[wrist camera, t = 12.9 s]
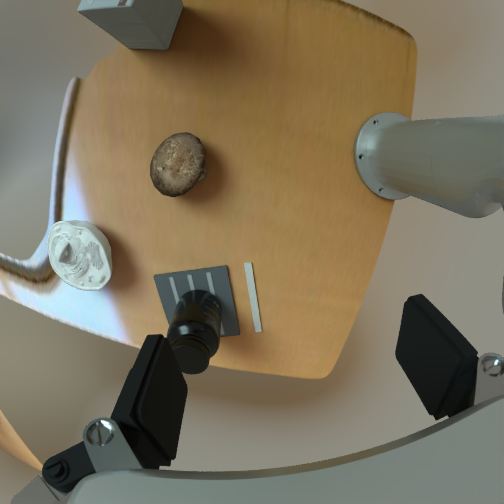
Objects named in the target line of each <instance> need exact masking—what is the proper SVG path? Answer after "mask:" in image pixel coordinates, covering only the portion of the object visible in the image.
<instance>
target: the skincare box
mask: <svg viewBox="0 0 504 504" xmlns="http://www.w3.org/2000/svg"><path fill="white" fill-rule="evenodd" d="M182 9H183V3H182V1H181V0H82V1H81V3H80V5H79V7H78V9H77V12H79V13H81V14H82V15H83V16H85V17H86V18H88V19H89V20H91V21H92V22H93V23H95V24H96V25H98V26H99V27H100V28H102V29H103V30H105V31H106V32H107V33H109V34H110V35H111V36H113V37H114V38H115V39H117V40H118V41H119V42H121V43H122V44H123V45H125V46H126V47H127V48H128V49H157V50H168V48H169V45H170V42H171V39H172V36H173V33H174V30H175V27H176V25H177V22H178V19H179V16H180V14H181V11H182Z"/></svg>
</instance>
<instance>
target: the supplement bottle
mask: <svg viewBox="0 0 504 504" xmlns="http://www.w3.org/2000/svg"><path fill="white" fill-rule="evenodd" d="M221 319H222V307H221V304H220V302H219V300H218V299H217V297H216V296H214V295H213V294H212V293H210V292H208V291H205V290H200V289H196V290H191V291H188V292H186V293H185V294H183V295H182V296H181V298H180V299H179V301H178V304H177V306H176V309H175V312H174V314H173V317H172V320H171V323H170V326H169V329H168V332H167V338H168V340H169V342H170V345H171V347H172V350H173V352H174V355H175V357H176V360H177V362H178V365H179V367H180V370H181V372H183V373H186V374H199V373H202V372H203V371H205V369H207V367H208V365H209V360H210V358H211V357H212V356H214V355H215V353H216V352H217V350H218V348H219V342H220V331H221Z"/></svg>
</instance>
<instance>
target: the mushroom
mask: <svg viewBox="0 0 504 504" xmlns="http://www.w3.org/2000/svg"><path fill="white" fill-rule="evenodd" d="M204 165H205V150H204V148H203V145H202V143H201V141H200V139H199V138H198V137H196V136H194V135H192V134H190V133H187V132H186V133H177V134H174V135H172V136H170V137H169V138H167V139H166V140H165V141H163V142H162V144H161V145H160V146H159V147H158V149H157V150H156V152H155V154H154V156H153V158H152V161H151V165H150V176H151V179H152V182H153V184H154V186H155V188H156V189H157V190H158V191H159V192H160V193H162V194H163V195H166V196H170V197H176V196H179V195H183V194H185V193H186V192H187V191H189V190H190V189H191V188H192V187H193V186H194V185H195V183H197V182H199V181H201V180H202V179H204V178H205V177H206V175H207V171H208V170H207V168H206V167H204Z"/></svg>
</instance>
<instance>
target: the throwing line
mask: <svg viewBox="0 0 504 504" xmlns="http://www.w3.org/2000/svg"><path fill="white" fill-rule="evenodd" d="M244 266H245V272H246V278H247V284H248V290H249V296H250V302H251V308H252V314H253V320H254V326H255V332H261V331H262V329H261V323H260V316H259V310H258V303H257V296H256V290H255V283H254V277H253V270H252V264H251V262H247V263H244Z"/></svg>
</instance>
